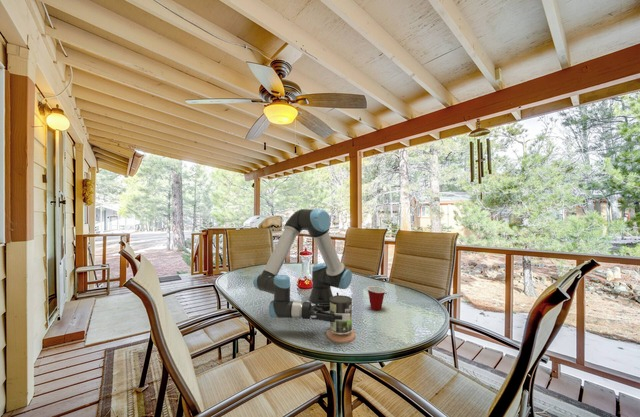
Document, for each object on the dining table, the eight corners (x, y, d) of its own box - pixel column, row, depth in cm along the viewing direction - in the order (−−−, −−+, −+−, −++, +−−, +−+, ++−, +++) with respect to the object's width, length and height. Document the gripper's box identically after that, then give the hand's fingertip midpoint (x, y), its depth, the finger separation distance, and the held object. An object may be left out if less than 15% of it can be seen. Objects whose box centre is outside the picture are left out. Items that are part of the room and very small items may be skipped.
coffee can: (355, 327, 121) (355, 297, 121) (345, 337, 112) (345, 304, 113) (336, 322, 127) (336, 293, 127) (325, 331, 118) (325, 299, 118)
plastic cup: (384, 313, 145) (384, 292, 145) (365, 311, 149) (365, 290, 149) (387, 307, 155) (387, 286, 155) (369, 304, 159) (369, 284, 159)
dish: (320, 335, 120) (320, 332, 120) (340, 326, 129) (340, 323, 129) (341, 346, 110) (341, 342, 110) (360, 336, 119) (360, 332, 119)
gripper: (306, 309, 133) (350, 311, 130) (297, 329, 111) (350, 332, 108) (306, 294, 133) (350, 296, 130) (297, 311, 111) (349, 313, 108)
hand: (350, 312), depth 119 cm, fingers closed on coffee can, 10 cm apart
